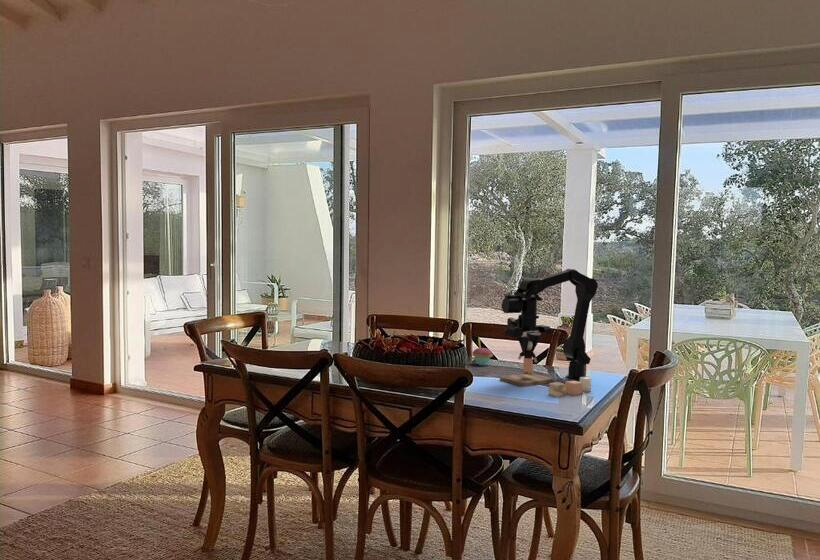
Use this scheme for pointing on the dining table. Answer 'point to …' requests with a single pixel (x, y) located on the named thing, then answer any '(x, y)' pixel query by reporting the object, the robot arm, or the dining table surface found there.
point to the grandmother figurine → (528, 360)
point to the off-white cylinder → (586, 384)
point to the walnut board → (526, 379)
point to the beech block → (557, 389)
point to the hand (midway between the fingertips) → (527, 353)
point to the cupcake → (482, 355)
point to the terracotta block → (573, 387)
